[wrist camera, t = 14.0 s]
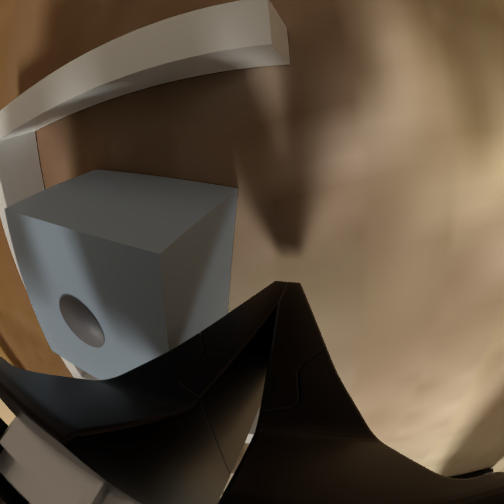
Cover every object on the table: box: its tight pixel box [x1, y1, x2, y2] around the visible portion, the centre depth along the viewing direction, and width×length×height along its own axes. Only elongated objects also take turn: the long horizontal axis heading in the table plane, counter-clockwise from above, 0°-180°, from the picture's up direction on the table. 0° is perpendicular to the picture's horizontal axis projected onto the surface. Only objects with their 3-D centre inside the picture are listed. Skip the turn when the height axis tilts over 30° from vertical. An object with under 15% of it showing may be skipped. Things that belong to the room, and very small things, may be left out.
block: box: [4, 169, 238, 380], centre depth 9 cm, size 6×6×5 cm
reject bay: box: [0, 0, 290, 444], centre depth 10 cm, size 13×16×2 cm
